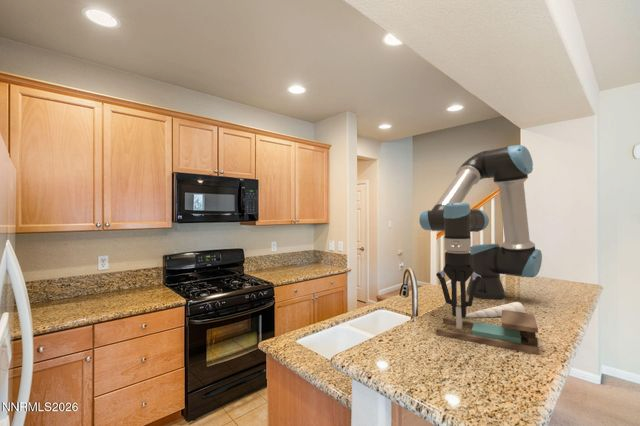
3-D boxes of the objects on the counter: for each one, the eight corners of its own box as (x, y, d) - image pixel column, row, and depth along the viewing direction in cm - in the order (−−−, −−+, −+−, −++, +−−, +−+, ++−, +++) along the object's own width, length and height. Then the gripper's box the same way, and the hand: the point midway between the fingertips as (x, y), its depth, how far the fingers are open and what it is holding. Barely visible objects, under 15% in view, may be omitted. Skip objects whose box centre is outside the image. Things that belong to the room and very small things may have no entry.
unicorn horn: (453, 314, 106) (453, 301, 106) (516, 313, 107) (516, 300, 107) (460, 319, 101) (460, 305, 101) (525, 317, 102) (525, 304, 102)
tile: (472, 339, 85) (471, 330, 85) (474, 330, 92) (474, 321, 92) (521, 349, 79) (520, 338, 79) (520, 338, 85) (519, 329, 85)
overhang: (436, 334, 88) (436, 312, 88) (444, 320, 99) (443, 301, 100) (538, 354, 74) (537, 328, 75) (534, 336, 86) (533, 313, 86)
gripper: (433, 252, 91) (435, 327, 90) (480, 254, 84) (482, 335, 83) (437, 249, 97) (439, 319, 97) (481, 251, 90) (483, 327, 90)
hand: (459, 327), depth 90 cm, fingers closed
